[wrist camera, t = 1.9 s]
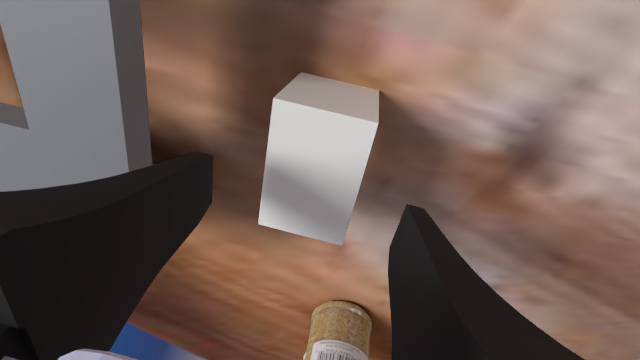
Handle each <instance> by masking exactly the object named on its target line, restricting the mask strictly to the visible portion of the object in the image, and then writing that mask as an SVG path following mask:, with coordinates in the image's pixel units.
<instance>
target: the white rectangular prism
mask: <svg viewBox="0 0 640 360" xmlns="http://www.w3.org/2000/svg"><path fill="white" fill-rule="evenodd" d="M378 124H379V90H376V89H372V88H367V87H363V86H359V85H355V84H350V83H346V82H342V81H337V80H333V79H329V78H325V77H320V76H316V75H312V74H308V73H303V72H301V73H300V74H298V75H297V76H296V77H295V78H294V79H293V80H292V81H291V82H290V83H289V84H288V85H287V86H286V87H284V88H283V89H282V90H281V91H280V92H279V93H278V94H277V95H276V96H275V97H274V98H273V104H272V112H271V120H270V128H269V137H268V145H267V153H266V162H265V170H264V178H263V187H262V195H261V203H260V211H259V220H258V224H259V225H263V226H267V227H271V228H275V229H279V230H283V231H287V232H290V233H294V234H298V235H302V236H306V237H310V238H314V239H318V240H322V241H325V242H329V243H333V244H337V245H341V246H342V245H343V242H344V238H345V235H346V232H347V228H348V225H349V222H350V218H351V215H352V211H353V208H354V205H355V201H356V198H357V195H358V191H359V188H360V184H361V181H362V178H363V174H364V171H365V168H366V164H367V161H368V157H369V154H370V151H371V147H372V144H373V141H374V137H375V134H376V130H377V127H378Z"/></svg>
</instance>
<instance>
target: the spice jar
mask: <svg viewBox="0 0 640 360" xmlns="http://www.w3.org/2000/svg"><path fill="white" fill-rule="evenodd" d="M371 330H372V323H371V319H370V317H369V316H368V314H367V313H366V312H365V311H364V310H363V309H361V308H360V307H359V306H357V305H355V304H352V303H349V302H345V301H329V302H325V303H323V304H321V305H319V306H318V307H316V308H315V310H314V312H313V314H312V317H311V330H310V335H309V340H308V345H307V350H306V353H305V355H304V358H303V360H369V350H370V348H369V343H370V333H371Z"/></svg>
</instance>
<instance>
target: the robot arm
mask: <svg viewBox="0 0 640 360" xmlns="http://www.w3.org/2000/svg"><path fill="white" fill-rule="evenodd" d="M212 181H213V155H209V154H205V153H201V152H193V153H189V154H186V155H182V156H179V157H176V158H173V159H170V160H167V161H164V162H160V163H157V164H154V165H151V166H148V167H144V168H141V169H137V170H134V171H130V172H127V173H123V174H119V175H115V176H111V177H107V178H103V179H98V180H93V181H87V182H82V183H76V184H69V185H62V186H55V187H47V188H40V189H29V190H18V191H4V192H0V360H137V359H133V358H129V357H126V356H122V355H119V354H115V353H112V352H109V350H110V348H111V347H112V345H113V344H114V342H115V340H116V338H117V337H118V335H119V333H120V332H121V330H122V328H123V327H124V325H125V323H126V322H127V320H128V318H129V317H130V315H131V314H132V312H133V310H134V309H135V307H136V306H137V304H138V302H139V301H140V299H141V298H142V296H143V295H144V293H145V292H146V290H147V289H148V287H149V286H150V284H151V283H152V281H153V280H154V278H155V277H156V275H157V274H158V273H159V271H160V270H161V269H162V267H163V266H164V265H165V264H166V262H167V261H168V260H169V259H170V258H171V256H172V255H173V254H174V253H175V252H176V250H177V249H178V248H179V247H180V245H181V244H182V243H183V242H184V241H185V239H186V238H187V237H188V236H189V235H190V233H191V232H192V231H193V230H194V228H195V227H196V226H197V225H198V223H199V222H200V221H201V219H202V217H203V216H204V214H205V213H206V211H207V209H208V207H209V206H210V204H211V202H212ZM388 279H389V294H390V308H391V322H392V360H584V359H583V358H581V357H580V356H578V355H577V354H575V353H573V352H572V351H570V350H569V349H567V348H566V347H564V346H563V345H561V344H560V343H559V342H557V341H556V340H555V339H553V338H552V337H550V336H549V335H548V334H546V333H545V332H544V331H542V330H541V329H539V328H538V327H537V326H535V325H534V324H533V323H532V322H530V321H529V320H528V319H526V318H525V317H524V316H523V315H521V314H520V313H519V312H518V311H517V310H515V309H514V308H513V307H512V306H511V305H509V304H508V303H507V302H506V301H505V300H504V299H502V298H501V297H500V296H499V295H498V294H497V293H496V292H495V291H494V290H493V289H492V288H491V287H490V286H489V285H488V284H486V283H485V282H484V281H483V280H482V279H481V278H480V277H479V276H478V275H477V274H476V273H475V271H474V270H473V269H472V268H471V267H470V266H469V265H468V264H467V263H466V261H465V260H464V259H463V258H462V257H461V256H460V255H459V253H458V252H457V251H456V250H455V249H454V247H453V246H452V245H451V244H450V242H449V241H448V240H447V238H446V237H445V236H444V235H443V233H442V232H441V231H440V229H439V228H438V227H437V225H436V224H435V222H434V221H433V220H432V218H431V217H430V216H429V214H428V213H427V212H426V211H425V209H424V208H420V207H416V206H412V205H408V204H407V205H406V207H405V210H404V212H403V215H402V217H401V220H400V223H399V225H398V228H397V230H396V233H395V235H394V238H393V240H392V243H391V245H390V250H389V264H388Z"/></svg>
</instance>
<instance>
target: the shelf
mask: <svg viewBox="0 0 640 360" xmlns="http://www.w3.org/2000/svg"><path fill="white" fill-rule="evenodd" d="M0 24H1V28H2V31H3V35H4V39H5V42H6V46H7V50H8V53H9V57H10V61H11V64H12V68H13V72H14V75H15V79H16V83H17V86H18V90H19V94H20V97H21V101H22V105H23V108H20V107H16V106H12V105H8V104H4V103H0V192H4V191H18V190H29V189H40V188H47V187H55V186H62V185H69V184H76V183H82V182H87V181H93V180H98V179H103V178H107V177H111V176H115V175H119V174H123V173H127V172H130V171H134V170H137V169H141V168H144V167H148V166H151V165H154V164H155V163H152V155H151V142H150V128H149V115H148V102H147V89H146V75H145V62H144V49H143V36H142V22H141V9H140V0H0Z"/></svg>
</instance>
